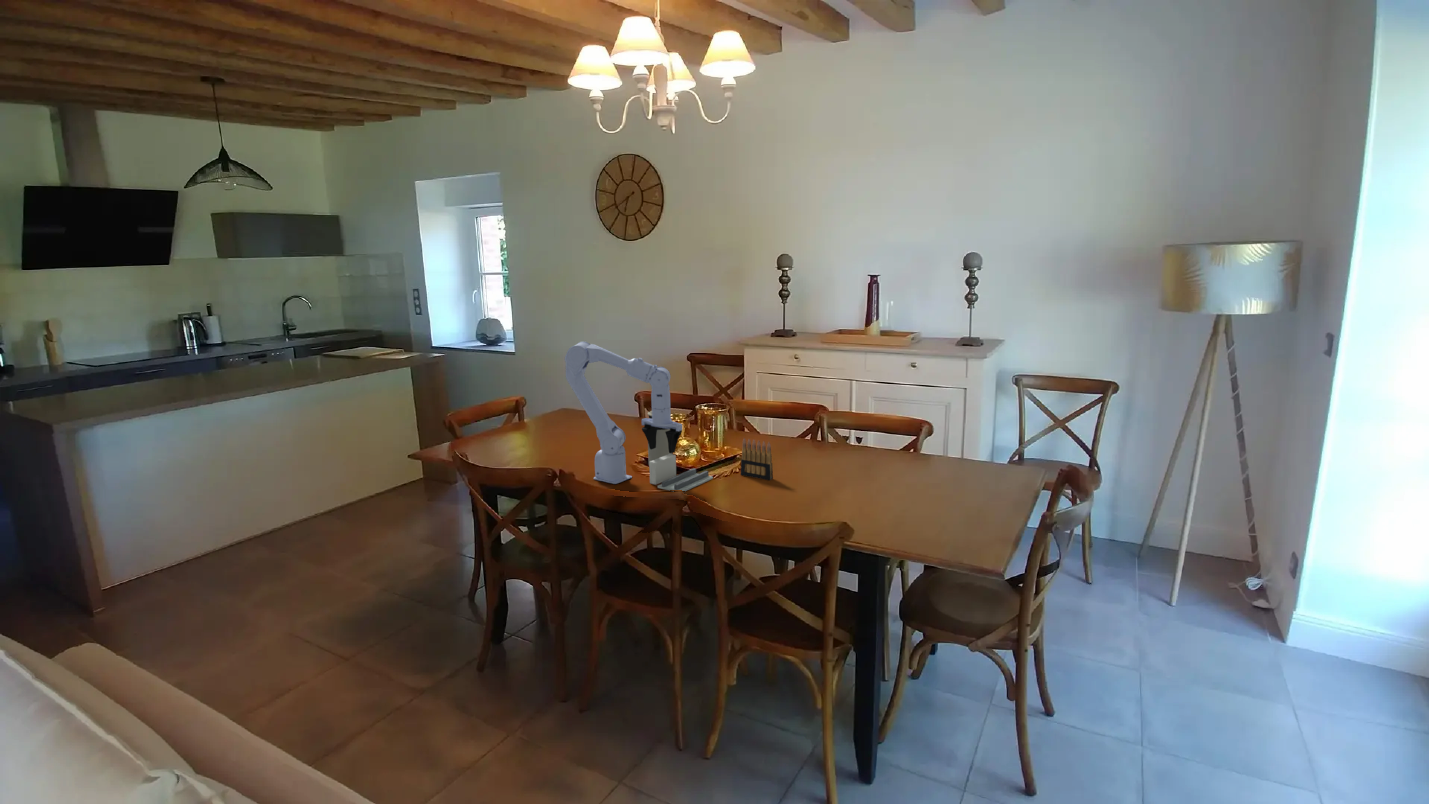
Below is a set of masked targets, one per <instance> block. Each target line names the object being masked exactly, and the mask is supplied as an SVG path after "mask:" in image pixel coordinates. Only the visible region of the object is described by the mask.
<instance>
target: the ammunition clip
mask: <svg viewBox="0 0 1429 804" xmlns="http://www.w3.org/2000/svg"><path fill="white" fill-rule="evenodd" d="M756 443H757V444H756ZM761 445H762V446H761ZM741 449H742V450H741V461H740V476H743V475H744V477H749V478H750V477H751V478H753V479H754V478H755V479H760V480H765V481H772V480H773V478H774V474H773V471H774V470H773V462H772V447H771V443H770V441H768V442H767V445H766V442H765V440H763V441H762V444H761V441H760V440H757V442H756V440H755V439H752V443H751V439H750V438H748V440H746V438H745V437H743V440H742V447H741Z"/></svg>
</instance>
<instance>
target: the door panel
mask: <svg viewBox="0 0 1429 804" xmlns="http://www.w3.org/2000/svg"><path fill="white" fill-rule="evenodd" d="M648 466H649V484H652V485H655V486H657V485H660V484H662V482H663V481H665V480H667V479H670V478H672V477H674V476H677V456H676V454H673V453H672V454H668V455H665V456H663V457H660V458H658V459H655V460H652V461H650V462H649V461H648Z"/></svg>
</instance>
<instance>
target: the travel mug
mask: <svg viewBox="0 0 1429 804" xmlns="http://www.w3.org/2000/svg"><path fill="white" fill-rule="evenodd" d="M647 416H648V418H650V419H652V410H650V411H648V412H647ZM669 430H670V429H666V428H660V427H658V429H657V434H656V448H654V449H652V450H651V449H650V447H649V444H648V443H647V453H648V455H647V457H648V463H649V462H650V461H652V460H655V459H658V458H660V457H663V456H665V455H668V454H673V453H669V449H668V439H667V436H666V433H665V432H666V431H669Z"/></svg>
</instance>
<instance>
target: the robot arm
mask: <svg viewBox="0 0 1429 804" xmlns="http://www.w3.org/2000/svg"><path fill="white" fill-rule="evenodd" d="M564 362H565V380H566V381H567V383H568V385H569V386H570V388H571V390H572V391H573V393H574V395H575V396H576V397H577V400H578V401H579V402H580V404H581V406H582V407H583V409H584V411H585V413H586V414H587V416H588V418H589V419H590V421H591V422H592V424H593V426H594V427H595V429H596V430H595V431H596V436H597V438H598V441H599V445H600V450H598V451H597V452H596V454H595V455H594V474H595V475H594V477H593V480H595V481H600V482H604V483H608V484H613V485H617V484H619V483H622V482H624V481H627V480H629V479H632V478H633V476H632V475H629V474H627V465H626V463H627V462H626V449H625V447H624V445H623V444H625V442H626V436H627V435H626V434H625V431H624V430H623V429H621V428H620V427H619V426H618V425H617V424H616V423H615V421H614V420H612V419H611V418H610V417H609V415H608V413H607V411H606V410H605V408H604V407H603V405H602V403H601V401H600V400H599V398H598V396H597V395H596V393H595V392H594V390H593V388H592V387H591V385H590V383H589V381H588V380H587V378H586V377H585V374H586V370H587V367H588V364H592V363H598V362H602V363H605V364H607V365H611V366H613V367H616V368H619V369H622V370H625V373H626V374H627V376H629V377H631V378H634V379H636V380H639V381H641V382H643V383H646V384H649V385H650V386H651V393H650V395H651V396H650V398H651V400H650V401H651V411H652V419H650V418H649V417H645V418H641V426H643V427H641V430H642V432H643V434H644V436H645V438H646V440H647V445H648V444H649V447H650V449H651V450H652V449H654V448H656V434H657V429H658V427H660V428H666V429H670V430H669V431H666V432H665V433H666V436H667V439H668V449H669V453H672V454H673V453H675V452H676V448H677V445H678V441H679V438H680V436H681V434H682V433H683V424H682V423H679V422H676V421H674V420H673V419H672V418H671V417H672V415H671V414H672V412H671V392H670V390H671V387H670V384H669V383H670V381H671V373H670V371H669V370H668V369H667V368H666V367H664V366H658V365H657V364H652V363H649V362H646V361H644V359H643V358H642V357H638V358H636V357H634V358H631V359H628V358H626V357H624V356H622V355H620V354H617V353H616V352H613V351H610V350H608V349H606V348H604V347H601V346H598V345H597V344H594V343H589V342H588V341H579V342H577V343H576V344H575V345H572V346H570V347H569V348H568V350H567V352H566V354H565V357H564Z"/></svg>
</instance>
